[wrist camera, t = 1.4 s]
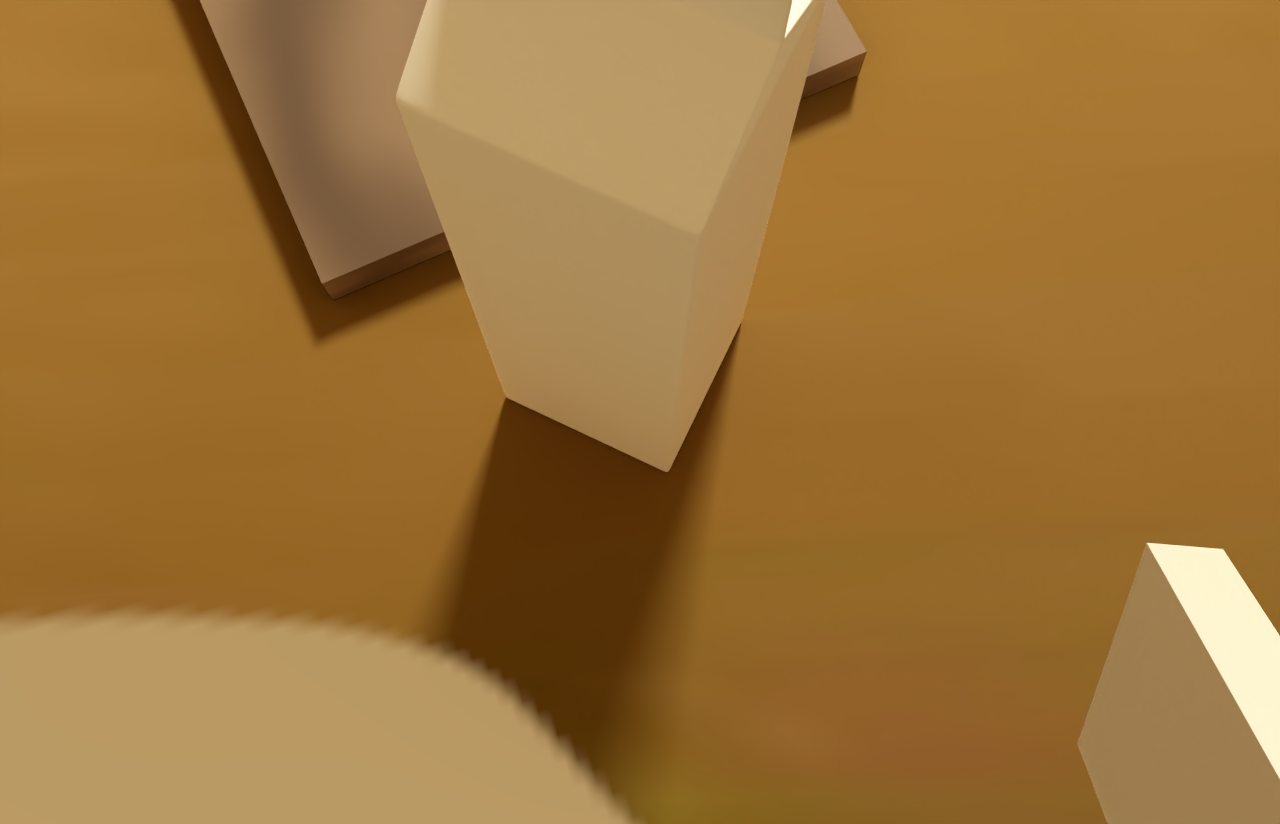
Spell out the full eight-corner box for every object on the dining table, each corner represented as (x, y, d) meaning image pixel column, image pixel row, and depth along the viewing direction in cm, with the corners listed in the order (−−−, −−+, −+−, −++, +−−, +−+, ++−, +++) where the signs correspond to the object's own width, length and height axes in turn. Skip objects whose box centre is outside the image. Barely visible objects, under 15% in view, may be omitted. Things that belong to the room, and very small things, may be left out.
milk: (668, 475, 38) (714, 159, 17) (501, 396, 39) (344, -2, 18) (745, 314, 40) (877, -162, 18) (583, 241, 40) (529, -301, 19)
